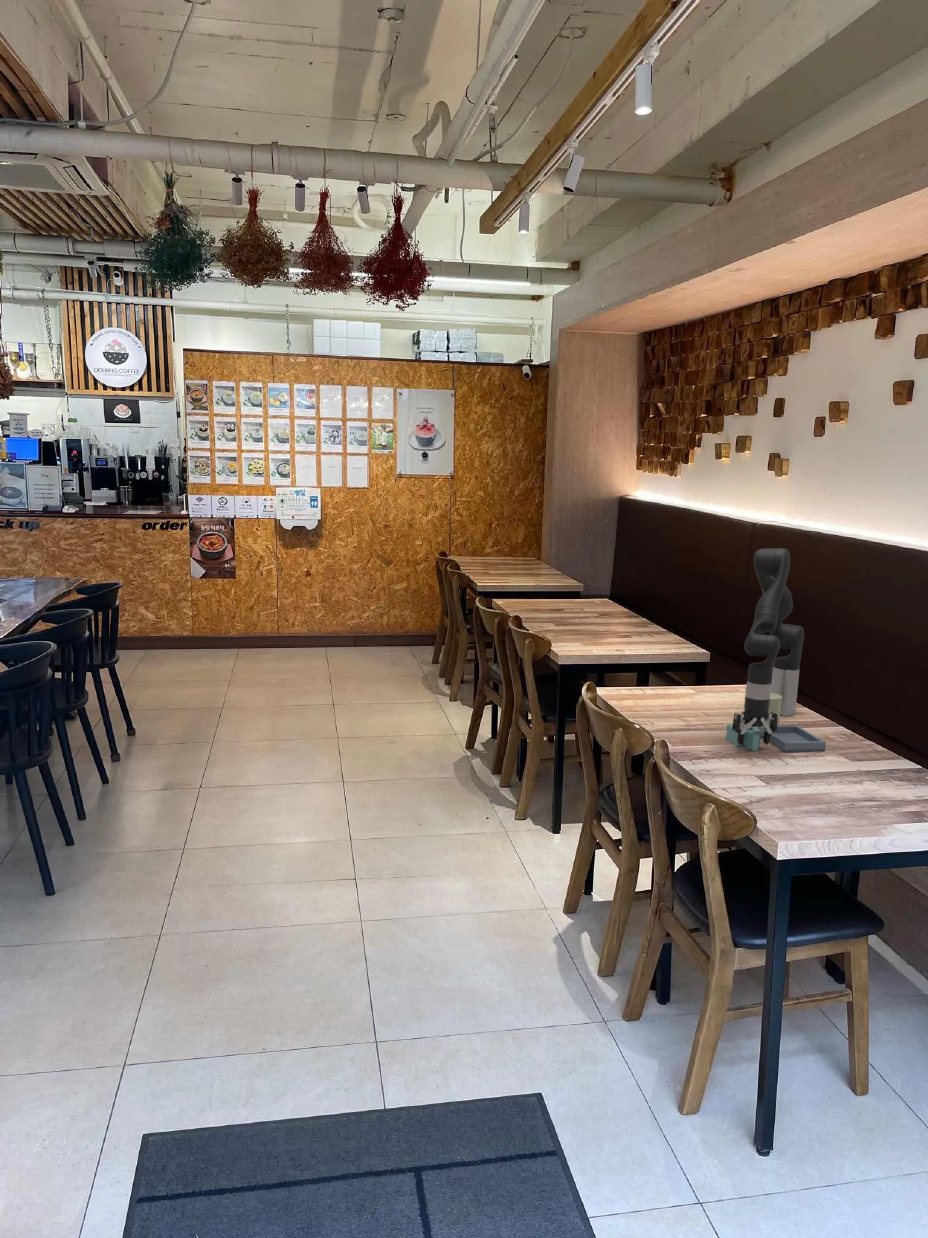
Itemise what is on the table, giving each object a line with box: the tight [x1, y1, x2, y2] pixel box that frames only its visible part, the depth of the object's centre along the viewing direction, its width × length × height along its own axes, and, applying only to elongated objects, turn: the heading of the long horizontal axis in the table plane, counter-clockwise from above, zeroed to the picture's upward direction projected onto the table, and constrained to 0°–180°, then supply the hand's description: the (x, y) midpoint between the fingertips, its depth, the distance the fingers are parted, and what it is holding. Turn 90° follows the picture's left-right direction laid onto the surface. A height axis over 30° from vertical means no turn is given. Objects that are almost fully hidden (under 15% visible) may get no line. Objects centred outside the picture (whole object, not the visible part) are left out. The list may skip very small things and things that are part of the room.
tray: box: [759, 725, 827, 753], centre depth 289 cm, size 18×14×3 cm
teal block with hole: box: [725, 723, 762, 752], centre depth 286 cm, size 12×8×5 cm, turn 9°
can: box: [755, 693, 782, 729], centre depth 304 cm, size 9×9×12 cm
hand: (753, 744), depth 281 cm, fingers open, 8 cm apart
